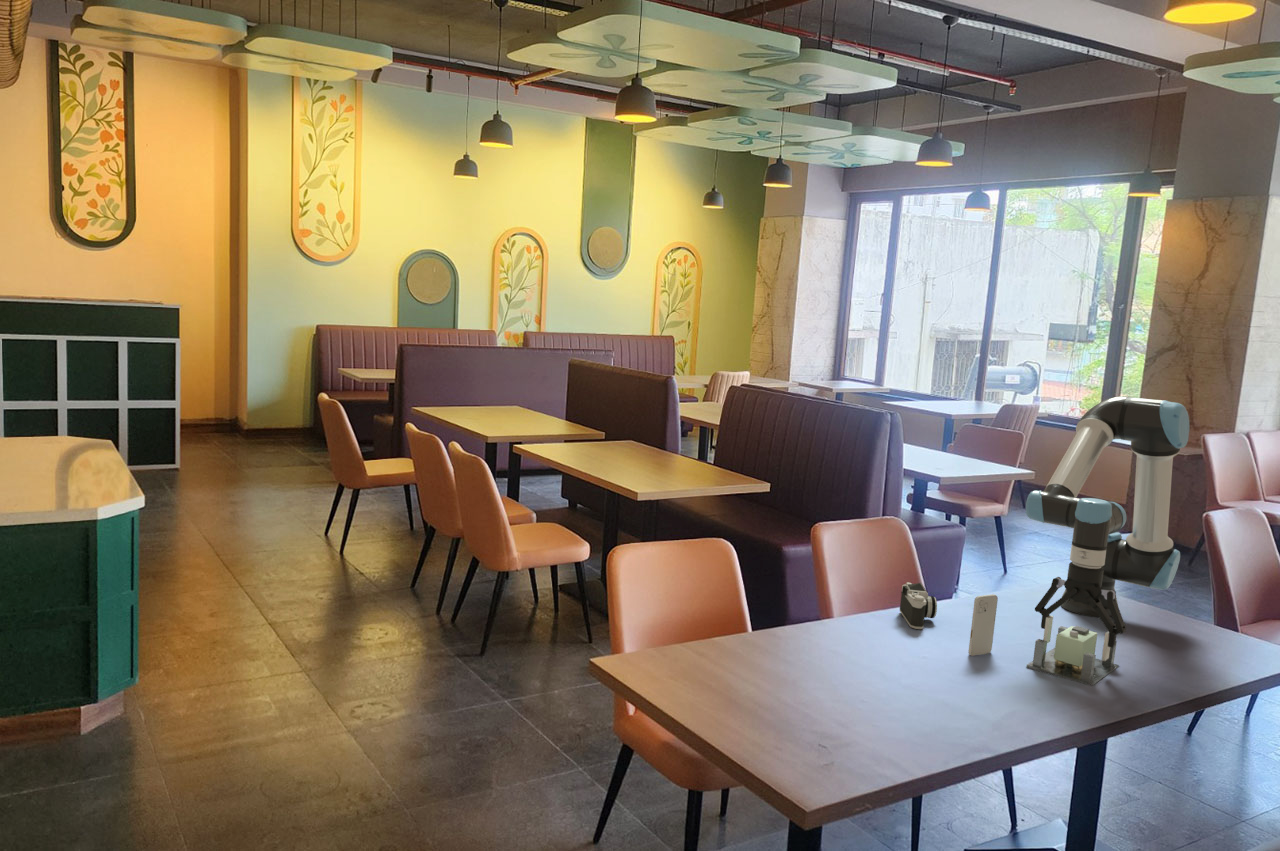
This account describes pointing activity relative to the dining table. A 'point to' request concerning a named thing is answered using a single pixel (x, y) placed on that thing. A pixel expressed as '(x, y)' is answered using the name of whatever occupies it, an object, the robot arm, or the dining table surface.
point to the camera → (917, 605)
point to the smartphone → (983, 624)
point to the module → (1074, 645)
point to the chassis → (1084, 674)
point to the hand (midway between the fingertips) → (1075, 650)
